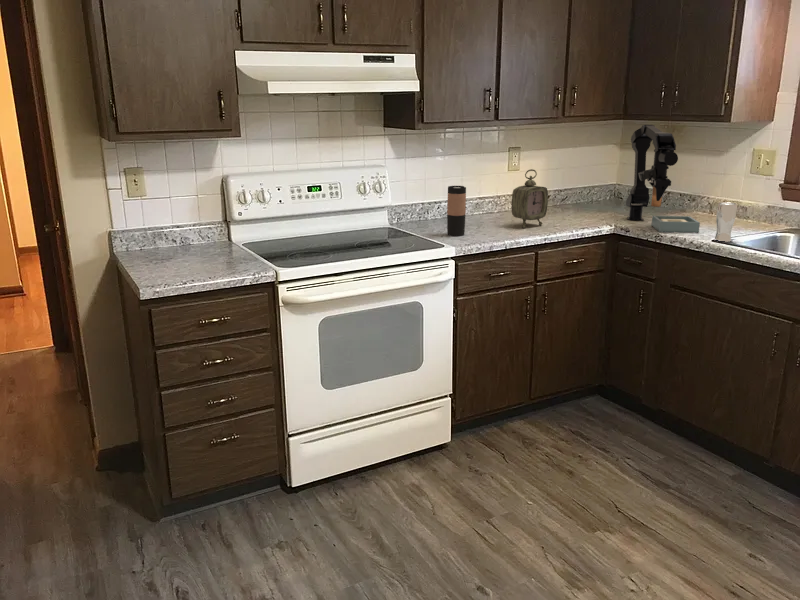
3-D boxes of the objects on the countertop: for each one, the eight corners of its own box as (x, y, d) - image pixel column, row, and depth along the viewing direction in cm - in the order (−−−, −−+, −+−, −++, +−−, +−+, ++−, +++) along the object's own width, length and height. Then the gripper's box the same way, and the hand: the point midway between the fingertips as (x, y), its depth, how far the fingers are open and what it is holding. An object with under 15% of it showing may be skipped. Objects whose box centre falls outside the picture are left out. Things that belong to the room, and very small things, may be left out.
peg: (650, 205, 298) (652, 184, 295) (659, 205, 297) (662, 184, 294) (652, 206, 294) (654, 185, 291) (661, 206, 293) (664, 185, 291)
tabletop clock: (523, 229, 298) (526, 171, 290) (508, 226, 305) (511, 169, 297) (546, 225, 306) (549, 169, 298) (531, 222, 313) (534, 167, 305)
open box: (651, 225, 306) (652, 215, 304) (688, 226, 304) (689, 216, 302) (659, 232, 291) (660, 221, 290) (698, 233, 289) (699, 222, 288)
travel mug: (443, 235, 286) (444, 187, 280) (452, 232, 292) (453, 185, 286) (459, 237, 282) (460, 188, 276) (468, 234, 288) (469, 186, 282)
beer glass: (712, 241, 273) (717, 204, 269) (713, 238, 279) (718, 201, 275) (731, 243, 270) (737, 205, 266) (732, 239, 276) (737, 202, 272)
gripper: (637, 161, 300) (633, 196, 305) (645, 165, 282) (641, 203, 287) (663, 161, 299) (659, 197, 303) (673, 165, 281) (669, 203, 286)
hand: (656, 200), depth 295 cm, fingers closed on peg, 4 cm apart
